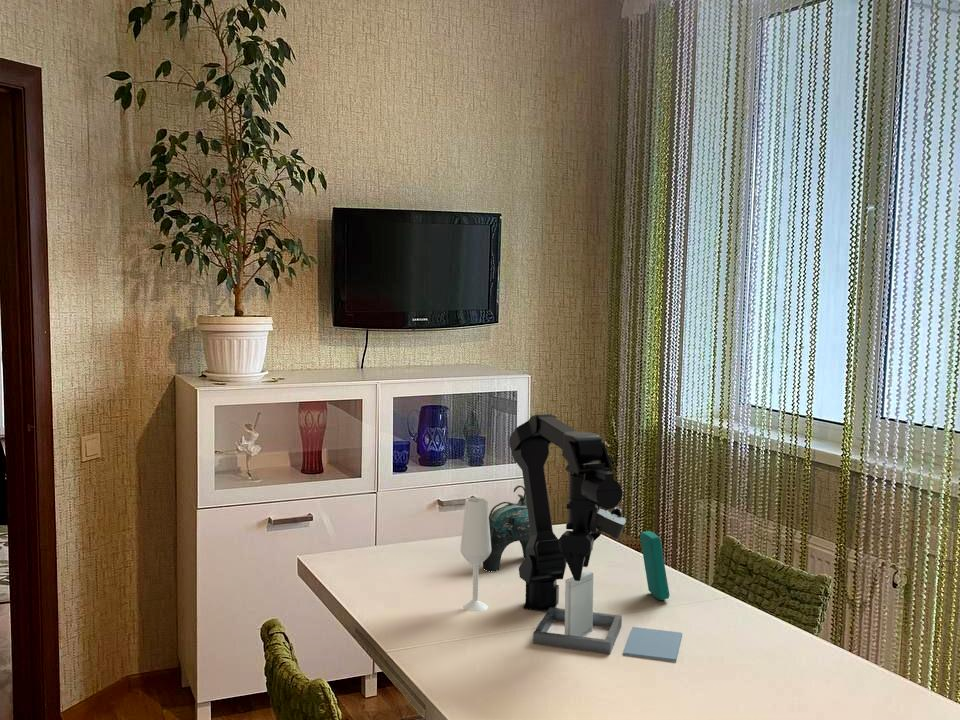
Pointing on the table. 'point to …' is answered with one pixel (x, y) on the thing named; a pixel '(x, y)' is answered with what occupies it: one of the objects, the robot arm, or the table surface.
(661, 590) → the digital multimeter
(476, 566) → the champagne flute
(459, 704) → the table surface
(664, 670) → the table surface
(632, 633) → the mat
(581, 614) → the hard drive
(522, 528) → the green bronze animal figure
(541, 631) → the gray square frame
